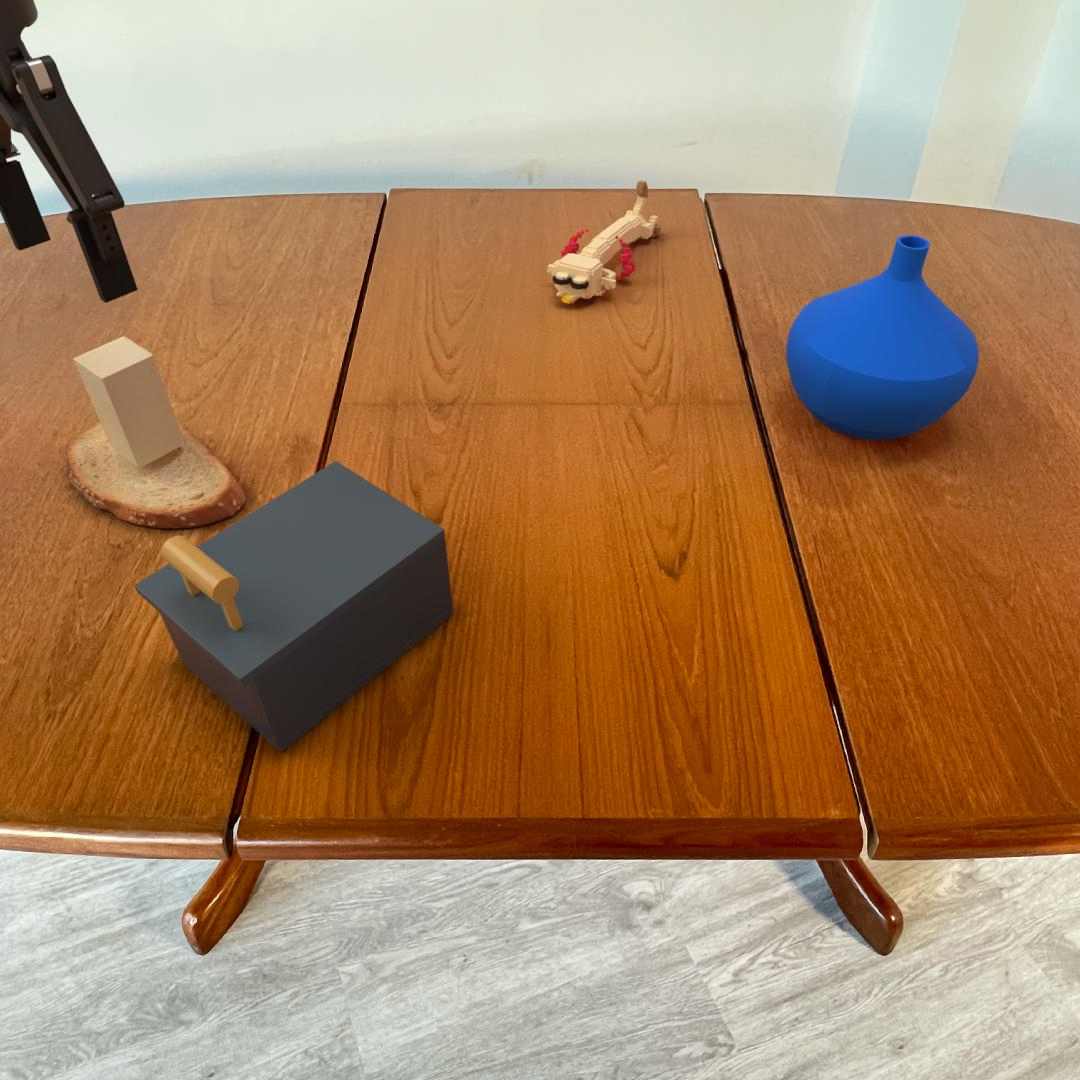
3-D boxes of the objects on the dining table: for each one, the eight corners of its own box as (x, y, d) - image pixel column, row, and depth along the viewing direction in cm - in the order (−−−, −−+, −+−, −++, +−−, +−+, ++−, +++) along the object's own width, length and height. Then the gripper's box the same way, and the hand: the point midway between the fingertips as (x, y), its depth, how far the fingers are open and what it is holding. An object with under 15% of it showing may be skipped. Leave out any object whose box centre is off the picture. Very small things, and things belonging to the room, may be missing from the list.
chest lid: (243, 687, 57) (220, 629, 53) (137, 593, 63) (109, 534, 59) (445, 537, 67) (438, 478, 63) (337, 468, 74) (325, 411, 69)
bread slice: (243, 523, 82) (233, 493, 79) (40, 545, 80) (23, 514, 77) (257, 411, 95) (249, 382, 92) (83, 427, 93) (70, 398, 90)
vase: (763, 446, 90) (801, 272, 77) (784, 354, 102) (820, 191, 89) (952, 482, 86) (1027, 305, 72) (950, 381, 98) (1014, 214, 85)
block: (139, 468, 82) (101, 378, 75) (111, 447, 85) (72, 358, 78) (185, 444, 85) (153, 354, 78) (157, 423, 87) (123, 335, 81)
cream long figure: (609, 233, 128) (528, 295, 111) (614, 171, 123) (530, 226, 105) (672, 247, 125) (600, 313, 108) (681, 184, 119) (606, 243, 102)
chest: (281, 753, 64) (253, 679, 58) (182, 662, 70) (147, 586, 64) (453, 614, 74) (445, 537, 68) (353, 544, 80) (337, 468, 74)
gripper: (110, -24, 53) (203, 300, 67) (-70, -73, 64) (43, 211, 79) (-15, -1, 48) (114, 339, 63) (-183, -58, 60) (-42, 239, 75)
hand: (74, 268), depth 71 cm, fingers open, 13 cm apart
